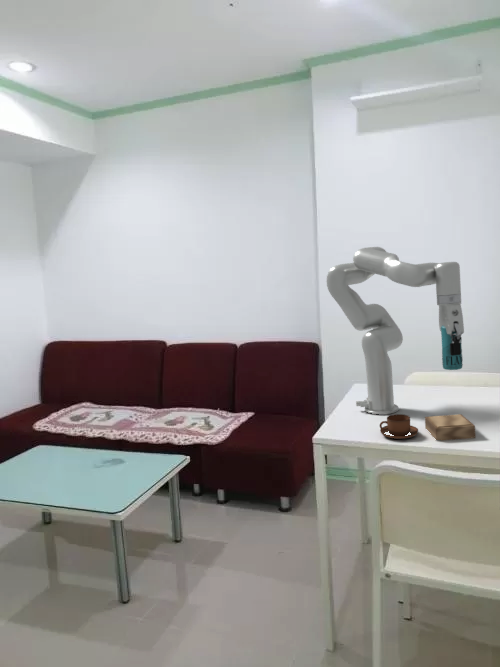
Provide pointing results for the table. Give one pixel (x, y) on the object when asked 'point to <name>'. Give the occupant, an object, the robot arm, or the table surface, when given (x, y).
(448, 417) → the walnut base
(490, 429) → the table surface
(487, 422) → the table surface
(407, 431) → the cup and saucer
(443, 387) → the table surface
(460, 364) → the beverage bottle
